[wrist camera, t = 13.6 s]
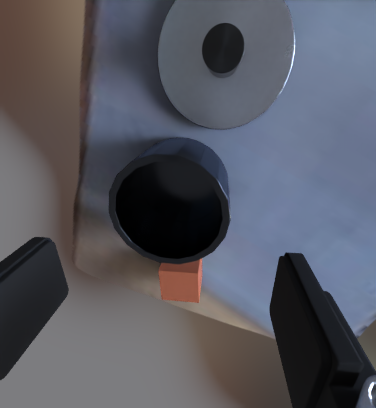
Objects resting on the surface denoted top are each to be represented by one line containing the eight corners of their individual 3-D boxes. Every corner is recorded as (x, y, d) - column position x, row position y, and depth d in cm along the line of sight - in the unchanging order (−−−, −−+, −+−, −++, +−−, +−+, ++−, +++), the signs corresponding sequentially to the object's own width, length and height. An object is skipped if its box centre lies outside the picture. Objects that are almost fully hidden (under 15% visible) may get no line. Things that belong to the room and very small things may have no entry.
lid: (220, -67, 18) (219, -145, 12) (321, 48, 21) (361, 30, 15) (137, 71, 23) (107, 64, 17) (225, 151, 26) (225, 169, 20)
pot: (173, 114, 25) (153, 123, 18) (248, 182, 27) (257, 215, 20) (120, 186, 29) (87, 215, 22) (187, 239, 32) (177, 281, 24)
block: (167, 246, 33) (158, 270, 28) (201, 248, 32) (198, 273, 28) (169, 273, 35) (161, 299, 30) (202, 275, 34) (198, 302, 30)
